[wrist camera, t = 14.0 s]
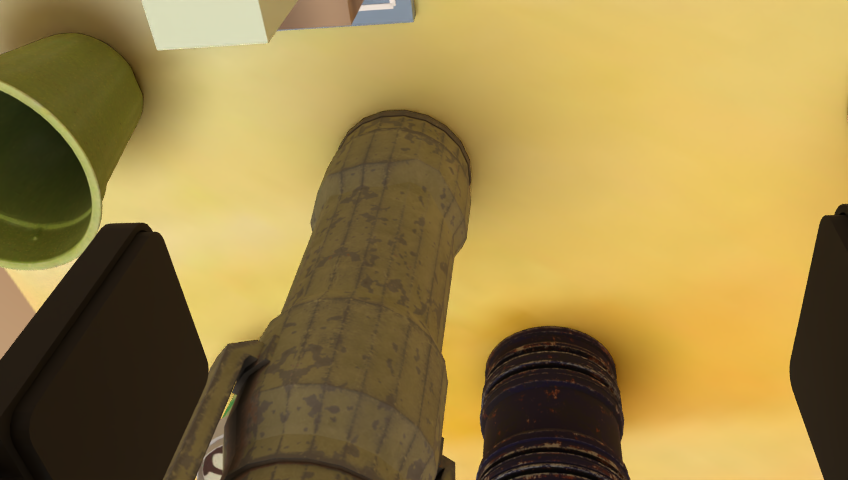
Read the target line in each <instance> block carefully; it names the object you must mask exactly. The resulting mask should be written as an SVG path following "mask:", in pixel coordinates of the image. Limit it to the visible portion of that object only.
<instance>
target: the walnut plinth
mask: <svg viewBox="0 0 848 480" xmlns="http://www.w3.org/2000/svg"><path fill="white" fill-rule="evenodd" d="M363 1H364V0H298V1H297V2H296V4H295V5H294V7H293V8H292V10H291V11H290V12H289V14H288V15H287V17H286V18H285V20H284V21H283V22H282V24H281V25H280V27H279V28H278V30H284V29H300V28H316V27H331V26H347V25H352V23H353V21H354V19H355V17H356V15H357V13H358V11H359V9H360V7H361V5H362V3H363Z"/></svg>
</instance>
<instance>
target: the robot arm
mask: <svg viewBox="0 0 848 480" xmlns="http://www.w3.org/2000/svg"><path fill="white" fill-rule="evenodd" d="M847 120H848V117H847ZM208 370H209V369H208V362H207V358H206V355H205V353H204V350H203V347H202V344H201V341H200V339H199V336H198V333H197V330H196V328H195V325H194V322H193V319H192V316H191V314H190V311H189V308H188V305H187V303H186V300H185V297H184V294H183V291H182V289H181V286H180V283H179V280H178V278H177V275H176V272H175V269H174V266H173V264H172V261H171V258H170V255H169V253H168V250H167V247H166V244H165V241H164V239H163V237H162V236H161V235H160V233H158V232H153V231H152V229H151V228H150V227H149V226H148V225H147V224H145V223H114V224H106V225H105V226H103V227H102V228H101V229H100V231H99V232H98V233H97V235H96V236H95V237H94V239H93V240H92V241H91V242H90V244H89V245H88V246H87V248H86V249H85V250H84V252H83V253H82V254H81V255H80V257H79V258H78V259H77V261H76V262H75V263H74V265H73V266H72V267H71V269H70V270H69V271H68V272H67V274H66V275H65V276H64V278H63V279H62V280H61V282H60V283H59V284H58V285H57V287H56V288H55V289H54V291H53V292H52V293H51V295H50V296H49V297H48V299H47V300H46V301H45V302H44V304H43V305H42V306H41V308H40V309H39V310H38V312H37V313H36V314H35V316H34V317H33V318H32V319H31V321H30V322H29V323H28V325H27V326H26V327H25V329H24V330H23V331H22V332H21V334H20V335H19V336H18V338H17V339H16V340H15V342H14V343H13V344H12V345H11V347H10V348H9V350H8V351H7V352H6V353H5V355H4V356H3V357H2V359H1V360H0V480H163V478H164V476H165V474H166V472H167V469H168V467H169V465H170V463H171V461H172V458H173V456H174V454H175V452H176V450H177V448H178V445H179V443H180V441H181V439H182V437H183V434H184V432H185V430H186V428H187V426H188V423H189V421H190V419H191V417H192V415H193V412H194V410H195V408H196V406H197V404H198V401H199V399H200V397H201V395H202V393H203V390H204V388H205V386H206V383H207V380H208ZM790 381H791V386H792V390H793V393H794V395H795V398H796V401H797V404H798V407H799V410H800V412H801V415H802V418H803V421H804V424H805V427H806V429H807V432H808V435H809V438H810V441H811V444H812V446H813V449H814V452H815V455H816V458H817V460H818V463H819V466H820V469H821V472H822V475H823V477H824V480H848V204H842V205H840V206H839V207H838V208H837V210H836V212H835V215H825V216H824V217H823V218H822V219H821V222H820V225H819V229H818V234H817V239H816V243H815V248H814V253H813V257H812V262H811V267H810V271H809V276H808V281H807V285H806V290H805V295H804V299H803V304H802V309H801V313H800V318H799V323H798V327H797V332H796V337H795V341H794V346H793V351H792V355H791V360H790Z"/></svg>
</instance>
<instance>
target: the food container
mask: <svg viewBox="0 0 848 480" xmlns="http://www.w3.org/2000/svg"><path fill="white" fill-rule="evenodd" d="M236 396H237V395H236V394H234V396H233V398H232V400H231V402H230V404H229V406H228V408H227V409H226V411H225V413H224V415H223V417H222V419H220V421H219V423H218V425H217V428H216V430H215V433H214V435H213V437H212V440H211V442H210V445H209V447H208V449H207V452H206V454H205V456H204V459H203V461H202V464H201V466H200V468H199V471H198V473H197V480H220V479H221V476H222V473H223V436H224V426H225V423H226V421H227V418H228V416H229V413H230V411H231V408H232V406H233V403H234V401H235V398H236Z"/></svg>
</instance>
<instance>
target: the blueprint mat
mask: <svg viewBox="0 0 848 480" xmlns="http://www.w3.org/2000/svg"><path fill="white" fill-rule="evenodd" d="M415 16H416V15H415V6H414V0H364V1H363V3H362V5H361V7H360V9H359V11H358V13H357V15H356V17H355V19H354V21H353V23H352V25H347V26H360V25H376V24H392V23H408V22H414V19H415ZM331 27H345V26H331ZM316 28H329V27H316ZM300 29H313V28H300ZM284 30H297V29H284ZM277 31H282V30H277Z"/></svg>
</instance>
